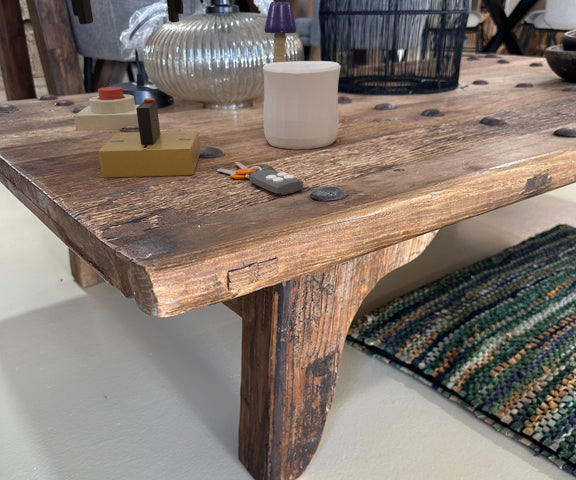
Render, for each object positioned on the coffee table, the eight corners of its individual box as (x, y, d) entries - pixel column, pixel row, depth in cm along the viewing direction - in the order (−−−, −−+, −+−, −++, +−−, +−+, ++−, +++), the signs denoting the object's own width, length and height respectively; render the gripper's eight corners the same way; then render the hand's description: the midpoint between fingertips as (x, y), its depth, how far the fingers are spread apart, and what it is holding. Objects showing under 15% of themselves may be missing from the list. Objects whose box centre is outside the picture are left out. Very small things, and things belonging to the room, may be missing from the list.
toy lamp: (276, 117, 92) (273, 1, 84) (302, 119, 90) (301, 1, 82) (261, 122, 88) (256, 2, 81) (287, 125, 86) (285, 1, 79)
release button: (97, 102, 86) (95, 90, 85) (102, 98, 89) (101, 87, 88) (121, 102, 86) (119, 90, 85) (126, 98, 89) (124, 86, 88)
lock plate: (102, 178, 63) (97, 149, 62) (120, 156, 71) (116, 131, 70) (193, 175, 63) (190, 147, 62) (200, 154, 72) (198, 128, 70)
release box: (76, 130, 85) (71, 103, 84) (90, 120, 92) (85, 94, 91) (143, 128, 86) (139, 101, 84) (152, 118, 93) (148, 92, 91)
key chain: (307, 190, 58) (307, 176, 57) (278, 198, 56) (277, 183, 55) (237, 164, 67) (236, 151, 66) (210, 170, 65) (209, 157, 64)
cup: (251, 140, 78) (247, 63, 73) (311, 130, 83) (311, 58, 78) (288, 154, 71) (287, 71, 66) (351, 142, 76) (354, 64, 71)
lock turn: (153, 144, 64) (148, 105, 62) (140, 145, 64) (135, 105, 62) (160, 134, 68) (156, 97, 66) (148, 135, 68) (144, 98, 66)
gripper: (-2, -182, 51) (39, 26, 59) (190, -185, 52) (205, 22, 60) (28, -162, 58) (62, 22, 66) (198, -165, 58) (212, 19, 66)
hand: (130, 22), depth 63 cm, fingers open, 9 cm apart
